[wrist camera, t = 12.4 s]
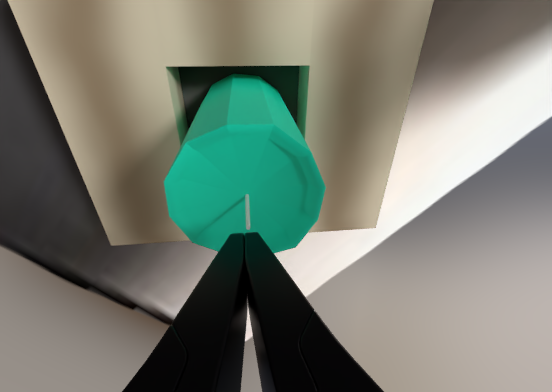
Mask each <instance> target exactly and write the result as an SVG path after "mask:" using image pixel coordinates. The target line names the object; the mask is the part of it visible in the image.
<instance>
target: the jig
mask: <svg viewBox="0 0 552 392" xmlns="http://www.w3.org/2000/svg"><path fill="white" fill-rule="evenodd" d="M8 2H9V5H10V7H11V9H12V12H13V14H14V16H15V19H16V21H17V23H18V26H19V28H20V31H21V33H22V35H23V38H24V40H25V42H26V45H27V47H28V50H29V52H30V54H31V57H32V59H33V61H34V64H35V66H36V68H37V71H38V73H39V76H40V78H41V80H42V83H43V85H44V87H45V90H46V92H47V94H48V97H49V99H50V102H51V104H52V106H53V109H54V111H55V113H56V116H57V118H58V121H59V123H60V125H61V128H62V130H63V132H64V135H65V137H66V139H67V142H68V144H69V147H70V149H71V151H72V154H73V156H74V158H75V161H76V163H77V166H78V168H79V170H80V173H81V175H82V177H83V180H84V182H85V184H86V187H87V189H88V192H89V194H90V196H91V199H92V201H93V203H94V206H95V208H96V210H97V213H98V215H99V218H100V220H101V222H102V225H103V227H104V229H105V232H106V234H107V237H108V239H109V241H110V244H111V246H115V245H130V244H145V243H160V242H175V241H189V240H190V239H189V238H188V237H187V236H186V235H185V234H184V232H183V231H182V230H181V229H180V228H179V227H178V226H177V225H176V224H175V222H174V221H173V220H172V219H171V218H170V217H169V213H168V206H167V200H166V194H165V187H164V180H165V178H166V176H167V174H168V172H169V170H170V168H171V165H172V163H173V161H174V159H175V157H176V155H177V153H178V151H179V149H180V147H181V145H182V143H183V141H184V139H185V136H186V134H187V132H188V130H189V129H188V123H187V117H186V112H185V106H184V100H183V94H182V88H181V82H180V76H179V70H178V66H299V85H298V106H297V127H298V129H299V130H300V132H301V134H302V136H303V138H304V140H305V141H306V143H307V145H308V147H309V149H310V150H311V152H312V155H313V157H314V160H315V162H316V164H317V167H318V169H319V172H320V174H321V177H322V179H323V181H324V184H325V186H326V189H325V193H324V198H323V202H322V206H321V210H320V214H319V218H318V220H317V222H316V223H315V224H314V225H313V227H312V228H311V229H310V230H309V231H308V232H323V231H338V230H353V229H367V228H376V224H377V220H378V216H379V212H380V209H381V205H382V201H383V197H384V193H385V189H386V185H387V181H388V177H389V173H390V170H391V166H392V162H393V158H394V154H395V150H396V146H397V142H398V138H399V135H400V131H401V127H402V123H403V119H404V115H405V111H406V107H407V103H408V99H409V96H410V92H411V88H412V84H413V80H414V76H415V72H416V68H417V64H418V60H419V57H420V53H421V49H422V45H423V41H424V37H425V33H426V29H427V25H428V21H429V18H430V14H431V10H432V6H433V2H434V0H8Z"/></svg>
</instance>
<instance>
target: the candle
mask: <svg viewBox="0 0 552 392" xmlns="http://www.w3.org/2000/svg"><path fill="white" fill-rule="evenodd" d="M164 187H165V194H166V200H167V206H168V213H169V217H170V218H171V219H172V220H173V221H174V222H175V224H176V225H177V226H178V227H179V228H180V229H181V230H182V231H183V232H184V234H185V235H186V236H187V237H188V238H189V239H190V240H191V241H192V242H193V243H195V244H198V245H201V246H204V247H207V248H210V249H213V250H216V251H219V250H220V249H221V247H222V246H223V244H224V243H225V241H226V240H227V238H228V237H229V235H230V234H233V233H243V234H244V235H245V233H247V232H258V233H259V234H260V235H261V237H262V238H263V240H264V241H265V242H266V244H267V245H268V246H269V248H270V249H271V251H272V252H273V253H277V252H280V251H284V250H287V249H291V248H295V247H296V246H297V245H298V244H299V242H300V241H301V240H302V239H303V238H304V236H305V235H306V234H307V233H308V231H309V230H310V229H311V228H312V227H313V225H314V224H315V223H316V222H317V220H318V218H319V214H320V210H321V206H322V202H323V198H324V193H325V189H326V186H325V184H324V181H323V179H322V177H321V174H320V172H319V169H318V167H317V164H316V162H315V160H314V157H313V155H312V152H311V150H310V149H309V147H308V145H307V143H306V141H305V140H304V138H303V136H302V134H301V132H300V130H299V129H298V127H297V125H296V123H295V121H294V120H293V118H292V116H291V114H290V112H289V110H288V109H287V107H286V105H285V103H284V101H283V100H282V98H281V96H280V94H279V92H278V90H277V89H275V88H274V87H273V86H271V85H270V84H269V83H267V82H266V81H265V80H263V79H262V78H260V77H259V76H257V75H246V74H235V73H233V74H231V75H229V76H227V77H226V78H224V79H222V80H220V81H218V82H216V83H214V84H212V86H211V87H210V89H209V91H208V93H207V95H206V96H205V98H204V100H203V102H202V104H201V105H200V107H199V110H198V112H197V114H196V116H195V118H194V120H193V122H192V124H191V126H190V128H189V130H188V132H187V134H186V136H185V139H184V141H183V143H182V145H181V147H180V149H179V151H178V153H177V155H176V157H175V159H174V161H173V163H172V165H171V168H170V170H169V172H168V174H167V176H166V178H165V180H164Z"/></svg>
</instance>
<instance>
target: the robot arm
mask: <svg viewBox="0 0 552 392" xmlns="http://www.w3.org/2000/svg"><path fill="white" fill-rule="evenodd" d="M247 296H248V297H247ZM247 307H248V308H249V315H250V321H251V327H252V333H253V339H254V345H255V350H256V356H257V363H258V368H259V375H260V380H261V387H262V392H384V391H383V390H382V389H381V388H380V387H379V386H378V385H377V384H376V383H375V382H374V381H373V379H372V378H371V377H370V376H369V375H368V374H367V373H366V372H365V371H364V369H363V368H362V367H361V366H360V365H359V364H358V363H357V362H356V361H355V360H354V359H353V357H352V356H351V355H350V354H349V353H348V352H347V351H346V350H345V348H344V347H343V346H342V345H341V344H340V343H339V341H338V340H337V339H336V338H335V336H334V335H333V334H332V333H331V331H330V330H329V329H328V327H327V326H326V325H325V323H324V322H323V321H322V320H321V318H320V317H319V315H318V314H317V313H316V312H315V311H314V308H313V307H312V306H311V305H310V303H309V302H308V300H307V299H306V297H305V296H304V295H303V293H302V292H301V291H300V289H299V288H298V286H297V285H296V284H295V282H294V281H293V280H292V278H291V277H290V275H289V274H288V273H287V271H286V270H285V269H284V267H283V266H282V264H281V263H280V262H279V260H278V259H277V258H276V256H275V255H274V253H273V252H272V251H271V249H270V248H269V246H268V245H267V244H266V242H265V241H264V240H263V238H262V237H261V235H260V234H259V233H258V232H247V233H245V235H244V234H243V233H233V234H230V235H229V237H228V238H227V240H226V241H225V243H224V244H223V246H222V247H221V249H220V250H219V252H218V253H217V255H216V257H215V258H214V260H213V261H212V263H211V264H210V266H209V267H208V269H207V270H206V272H205V273H204V275H203V276H202V278H201V279H200V281H199V282H198V284H197V285H196V287H195V289H194V290H193V292H192V293H191V295H190V296H189V298H188V299H187V301H186V302H185V304H184V305H183V307H182V308H181V310H180V311H179V313H178V314H177V316H176V317H175V319H174V321H173V322H172V325H171V326H169V328H168V330H167V331H166V333H165V334H164V336H163V337H162V339H161V340H160V342H159V343H158V345H157V346H156V347H155V349H154V350H153V352H152V353H151V355H150V356H149V357H148V359H147V360H146V362H145V363H144V364H143V366H142V367H141V368H140V369H139V371H138V372H137V373H136V375H135V376H134V377H133V379H132V380H131V381H130V382H129V384H128V385H127V386H126V388H125V389H124V390H123V391H122V392H240V390H241V378H242V367H243V356H244V344H245V333H246V321H247Z"/></svg>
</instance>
